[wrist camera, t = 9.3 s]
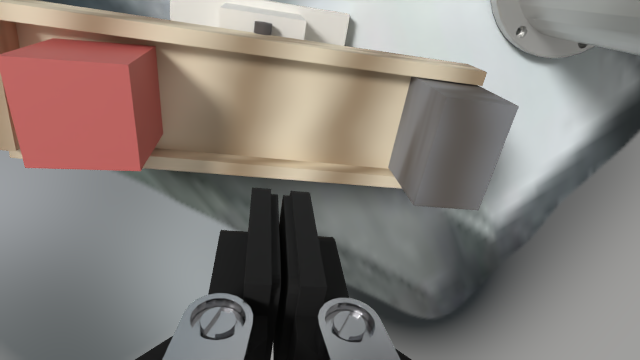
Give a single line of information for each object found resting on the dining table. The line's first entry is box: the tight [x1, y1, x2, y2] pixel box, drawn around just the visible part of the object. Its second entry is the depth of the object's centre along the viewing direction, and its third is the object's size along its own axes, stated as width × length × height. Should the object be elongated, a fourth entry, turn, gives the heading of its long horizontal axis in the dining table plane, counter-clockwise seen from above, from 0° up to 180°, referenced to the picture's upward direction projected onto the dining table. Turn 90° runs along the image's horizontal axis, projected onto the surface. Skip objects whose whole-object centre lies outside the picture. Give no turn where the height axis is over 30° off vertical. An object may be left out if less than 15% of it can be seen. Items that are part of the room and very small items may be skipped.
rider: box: [0, 38, 163, 171], centre depth 20 cm, size 5×5×5 cm
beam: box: [0, 0, 519, 210], centre depth 22 cm, size 26×9×7 cm, turn 81°
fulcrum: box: [170, 0, 350, 46], centre depth 27 cm, size 12×11×5 cm
